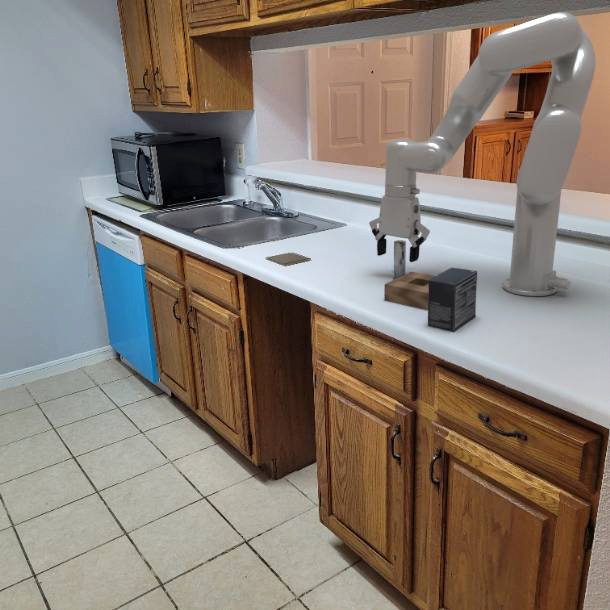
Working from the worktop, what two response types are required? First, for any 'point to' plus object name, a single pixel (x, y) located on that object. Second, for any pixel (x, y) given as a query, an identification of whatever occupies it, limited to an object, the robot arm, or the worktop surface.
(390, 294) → the socket block
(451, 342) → the worktop surface
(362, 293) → the worktop surface
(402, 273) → the pin
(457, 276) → the small box
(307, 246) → the worktop surface
